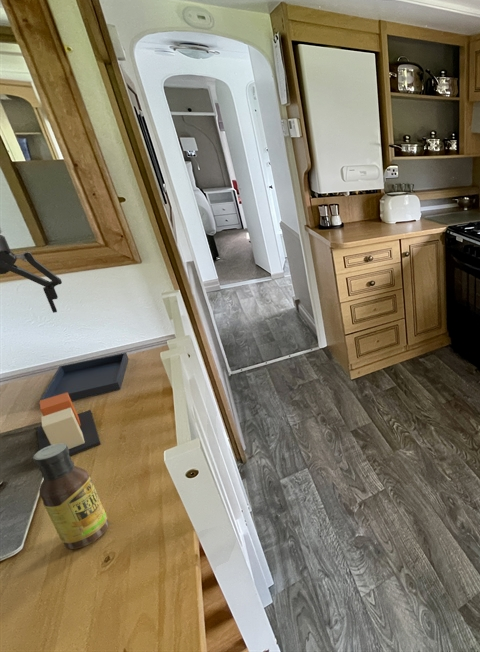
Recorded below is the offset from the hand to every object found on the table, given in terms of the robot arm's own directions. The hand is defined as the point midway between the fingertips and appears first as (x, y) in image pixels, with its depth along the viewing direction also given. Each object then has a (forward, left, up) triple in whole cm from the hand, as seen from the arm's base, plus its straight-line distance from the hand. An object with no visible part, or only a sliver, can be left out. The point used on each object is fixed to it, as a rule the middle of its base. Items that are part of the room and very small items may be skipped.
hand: (17, 318), depth 96 cm
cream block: (+17, -19, -26) cm, 36 cm away
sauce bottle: (+38, -46, -27) cm, 65 cm away
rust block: (+11, -12, -26) cm, 31 cm away
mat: (+14, -16, -26) cm, 34 cm away
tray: (+2, +10, -26) cm, 28 cm away
